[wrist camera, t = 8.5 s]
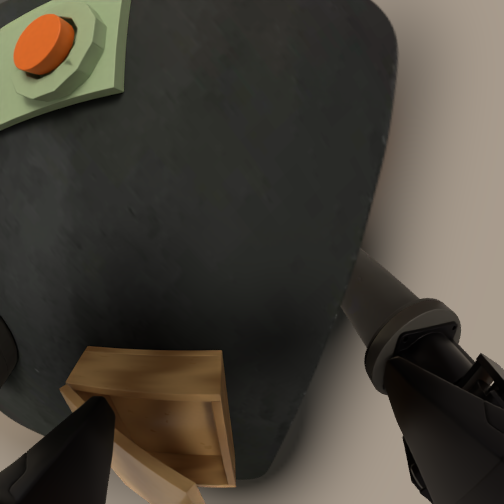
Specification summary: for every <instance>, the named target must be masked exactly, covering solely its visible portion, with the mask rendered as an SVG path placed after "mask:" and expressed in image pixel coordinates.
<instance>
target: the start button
mask: <svg viewBox="0 0 504 504" xmlns="http://www.w3.org/2000/svg"><path fill="white" fill-rule="evenodd" d="M73 42H74V29H73V27H72V26H71V25H70V24H69V23H68V22H66V21H65V20H63V19H62V18H60V17H59V16H57V15H55V14H46V15H43V16H40V17H38V18H37V19H35V20H34V21H33V22H31V23H30V24H29V25H28V26H27V27H26V29H25V30H24V31H23V32H22V34H21V35H20V37H19V39H18V41H17V43H16V46H15V49H14V55H13V59H14V64H15V66H16V67H17V68H18V69H20V70H22V71H26V72H30V73H33V74H37V75H43V74H46V73H49V72H51V71H52V70H54V69H55V68H57V67H58V66H59V65H60V64H61V63H62V62H63V61H64V59H65V58H66V57H67V55H68V53H69V52H70V50H71V48H72V45H73Z"/></svg>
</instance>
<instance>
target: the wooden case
mask: <svg viewBox="0 0 504 504" xmlns="http://www.w3.org/2000/svg"><path fill="white" fill-rule="evenodd" d="M66 384H67V385H68V386H69V387H70V388H71V389H72V390H73V391H74V392H75V393H76V394H77V395H79V396H80V397H81V398H82V399H83V400H84V401H85V402H86V401H87V400H88V399H89V398H91V397H92V396H103V397H105V398H106V400H107V401H108V403H109V404H110V406H111V407H112V409H113V411H114V412H115V417H116V420H115V428H116V429H117V430H118V431H119V432H121V433H122V434H123V435H125V436H126V437H127V438H128V439H130V440H131V441H132V442H134V443H135V444H136V445H138V446H139V447H140V448H142V449H143V450H145V451H146V452H147V453H149V454H150V455H152V456H153V457H155V458H156V459H158V460H159V461H161V462H162V463H164V464H165V465H167V466H168V467H170V468H172V469H173V470H175V471H176V472H178V473H180V474H181V475H183V476H185V477H186V478H188V479H190V480H192V481H193V482H195V483H196V485H197V487H236V474H235V451H234V444H233V437H232V429H231V422H230V414H229V406H228V398H227V390H226V382H225V373H224V364H223V354H222V350H140V349H121V348H106V347H93V346H87V348H86V349H85V351H84V352H83V354H82V356H81V357H80V359H79V361H78V362H77V364H76V365H75V367H74V369H73V370H72V372H71V374H70V375H69V377H68V379H67V380H66Z"/></svg>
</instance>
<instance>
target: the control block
mask: <svg viewBox="0 0 504 504" xmlns="http://www.w3.org/2000/svg"><path fill="white" fill-rule="evenodd" d="M130 4H131V0H52V1H50V2H48V3H46V4H44V5H42V6H40V7H38V8H36V9H34V10H32V11H30V12H28V13H26V14H25V15H23V16H21V17H19V18H18V19H16V20H14V21H12V22H11V23H9V24H7V25H6V26H4V27H3V28H1V29H0V131H1V130H3V129H5V128H8V127H10V126H12V125H15V124H17V123H20V122H22V121H25V120H28V119H30V118H33V117H36V116H39V115H41V114H44V113H47V112H50V111H53V110H56V109H60V108H63V107H66V106H70V105H73V104H77V103H80V102H84V101H88V100H92V99H96V98H100V97H104V96H109V95H113V94H118V93H123V92H124V70H125V53H126V40H127V29H128V20H129V12H130ZM46 14H55V15H57V16H59V17H60V18H62V19H63V20H65V21H66V22H68V23H69V24H70V25H71V26H72V27H73V29H74V42H73V45H72V48H71V50H70V52H69V53H68V55H67V57H66V58H65V59H64V61H63V62H62V63H61V64H60V65H59V66H58V67H57V68H55V69H54V70H52V71H51V72H49V73H46V74H43V75H37V74H33V73H30V72H26V71H22V70H20V69H18V68H17V67H16V66H15V64H14V59H13V55H14V49H15V46H16V43H17V41H18V39H19V37H20V35H21V34H22V32H23V31H24V30H25V29H26V27H27V26H28V25H29V24H30V23H31V22H33V21H34V20H35V19H37V18H38V17H40V16H43V15H46Z"/></svg>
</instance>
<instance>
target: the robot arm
mask: <svg viewBox="0 0 504 504" xmlns="http://www.w3.org/2000/svg"><path fill="white" fill-rule="evenodd" d="M457 328H458V324H457V323H456V322H455V321H451V322H447V323H443V324H438V325H434V326H429V327H425V328H420V329H415V330H410V331H405V332H402V333H401V334H400V335H399V337H398V340H397V343H396V347H395V350H394V353H393V357H392V358H391V359H388V360H387V362H386V365H385V371H384V376H383V383H384V384H383V387H382V388H383V390H384V392H387V395H388V397H389V400H390V403H391V406H392V409H393V412H394V415H395V418H396V420H397V423H398V425H399V427H400V429H401V431H402V433H403V442H404V446H405V452H406V456H407V461H408V467H409V472H410V476H411V481H412V483H413V484H414V485H415V486H416V487H417V489H418V490H419V491H420V493H421V494H422V495H423V496H424V497H426V498H427V499H428V500H429V501H430V502H431V503H432V504H504V370H503V369H502V368H501V367H500V366H499V365H498V364H497V363H495V362H494V361H492V360H491V359H489V358H488V357H486V356H485V355H483V354H482V353H480V355H479V356H478V357H477V361H476V362H474V360H473V359H472V358H471V357H470V356H469V355H468V354H467V353H466V352H465V351H464V350H463V349H462V348H461V347H460V346H459V345H458V344H457V342H456V341H455V340H454V336H455V334H456V331H457ZM493 381H494V383H493V384H492V386H490V384H491V383H492V382H493ZM115 420H116V417H115V412H114V411H113V409H112V407H111V406H110V404H109V403H108V401H107V400H106V398H105V397H103V396H92V397H91V398H89V399H88V400H87V401H86V402H85V403H84V404H82V405H81V406H80V407H79V408H78V409H77V410H75V411H74V412H73V413H72V414H71V415H70V416H68V417H67V418H66V419H65V420H64V421H62V422H61V423H60V424H59V425H58V426H57V427H55V428H54V429H53V430H52V431H51V432H49V433H48V434H47V435H46V436H45V437H44V438H42V439H41V440H40V441H39V442H38V443H36V444H35V445H34V446H33V447H32V448H31V449H29V451H27V453H25V454H23V455H22V456H21V457H20V458H19V459H18V460H16V461H15V462H14V463H12V464H11V465H10V466H8V467H7V468H5V469H4V470H3V471H1V472H0V504H105V503H106V495H107V487H108V481H109V474H110V468H111V462H112V456H113V444H114V431H115Z"/></svg>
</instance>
